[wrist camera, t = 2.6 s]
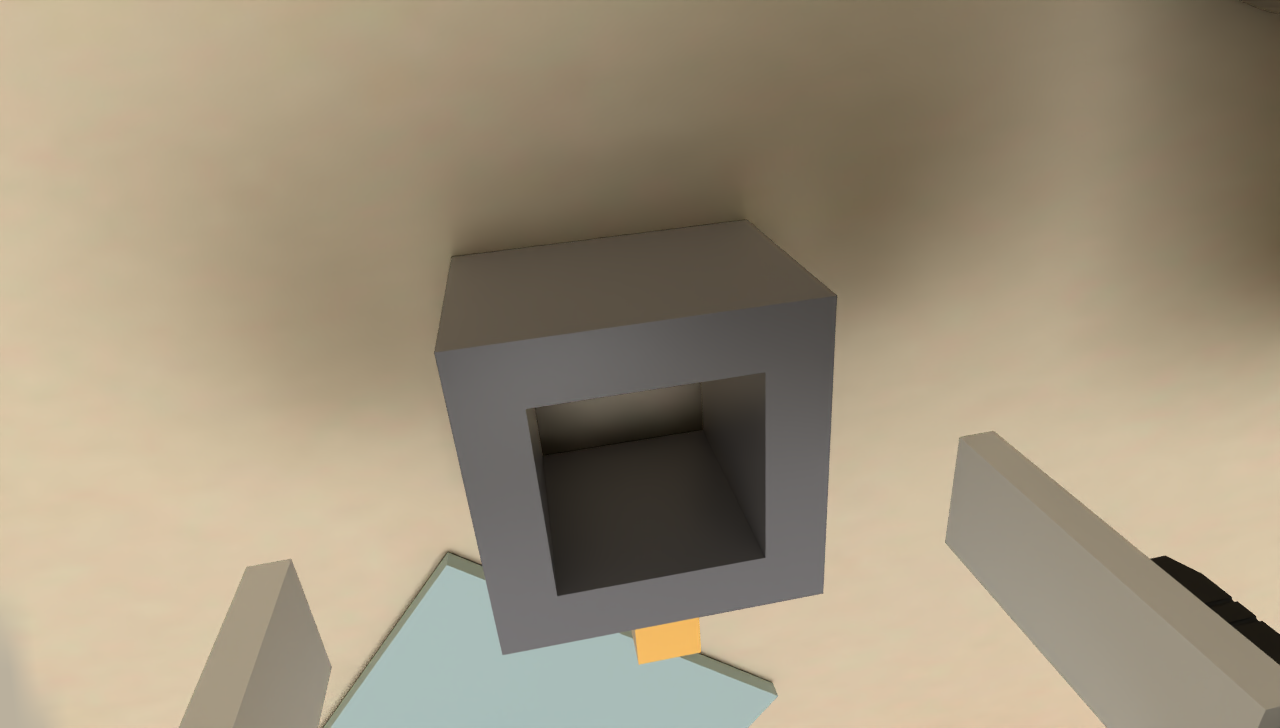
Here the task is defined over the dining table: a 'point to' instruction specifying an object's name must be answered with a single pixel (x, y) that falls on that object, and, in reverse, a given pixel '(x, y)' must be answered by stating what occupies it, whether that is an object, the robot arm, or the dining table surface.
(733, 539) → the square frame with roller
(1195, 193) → the dining table surface
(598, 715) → the board
